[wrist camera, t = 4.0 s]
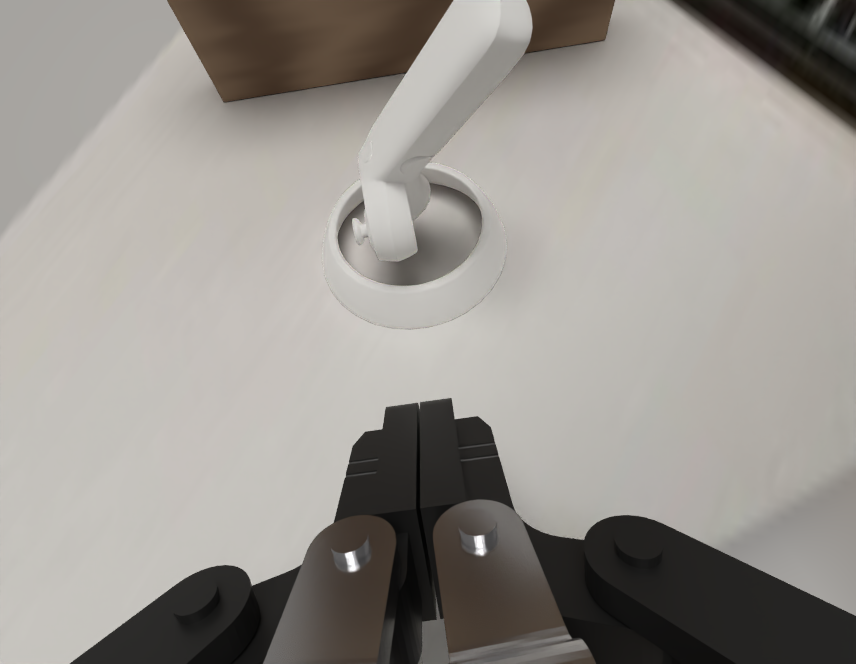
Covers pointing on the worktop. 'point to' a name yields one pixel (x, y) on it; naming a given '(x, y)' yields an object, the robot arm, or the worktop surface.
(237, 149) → the worktop surface
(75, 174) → the worktop surface
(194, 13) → the wall board
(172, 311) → the worktop surface
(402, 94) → the white lever switch
